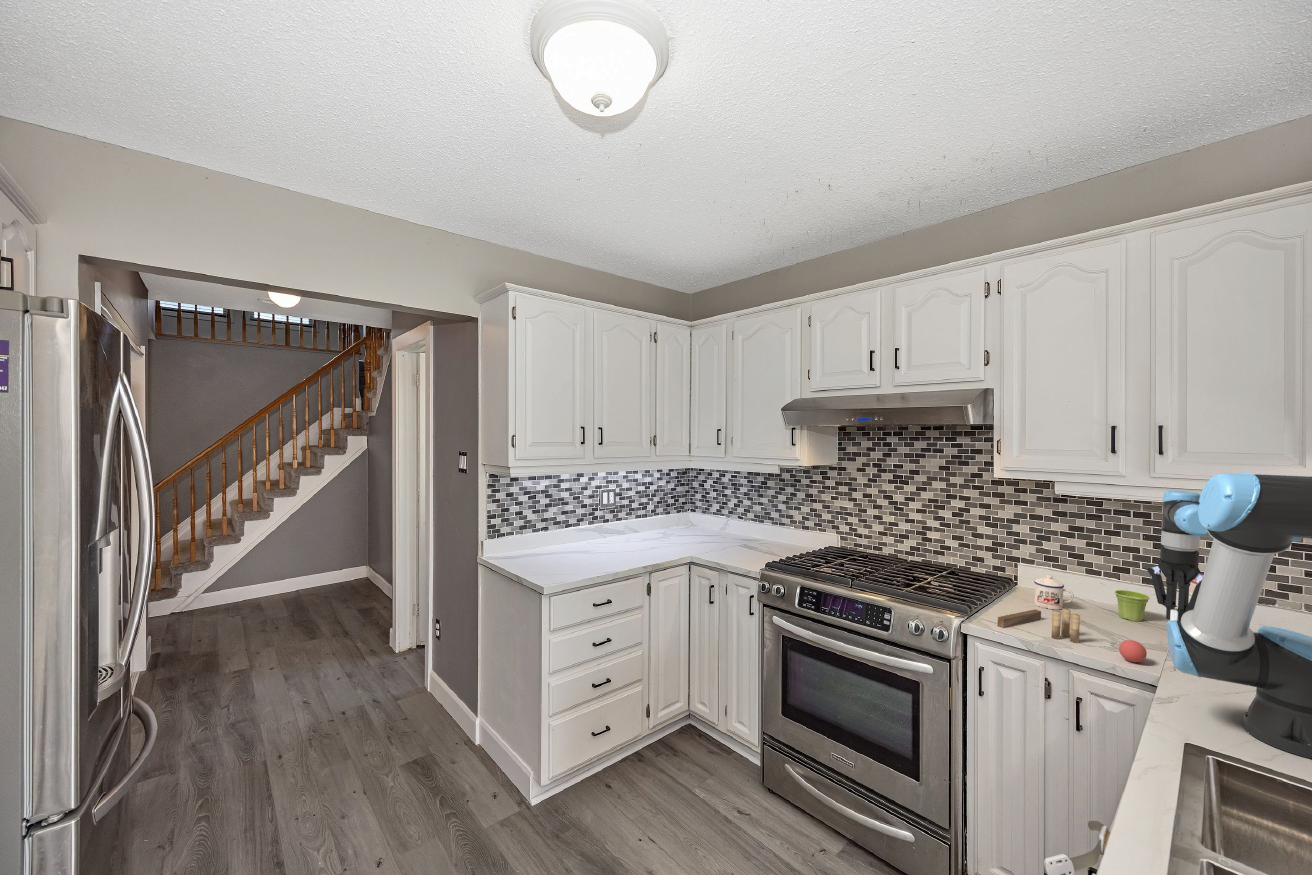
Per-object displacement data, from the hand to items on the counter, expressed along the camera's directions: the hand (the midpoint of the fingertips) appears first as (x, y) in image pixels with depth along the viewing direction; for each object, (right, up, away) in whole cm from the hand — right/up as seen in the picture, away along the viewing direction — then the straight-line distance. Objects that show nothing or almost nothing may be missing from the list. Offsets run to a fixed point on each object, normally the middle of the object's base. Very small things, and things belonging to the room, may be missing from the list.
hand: (1175, 633), depth 147 cm
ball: (-4, -8, +9) cm, 13 cm away
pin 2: (-9, -11, +27) cm, 31 cm away
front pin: (-10, -11, +22) cm, 27 cm away
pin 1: (-14, -11, +25) cm, 31 cm away
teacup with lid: (+7, -10, +55) cm, 56 cm away
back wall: (-17, -10, +38) cm, 43 cm away
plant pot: (+26, -11, +43) cm, 52 cm away
